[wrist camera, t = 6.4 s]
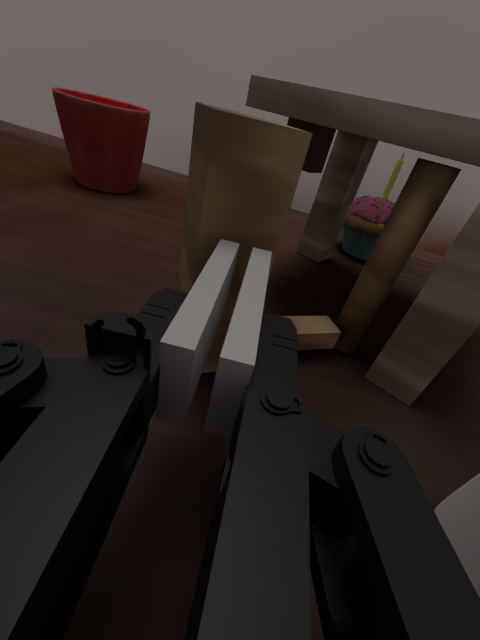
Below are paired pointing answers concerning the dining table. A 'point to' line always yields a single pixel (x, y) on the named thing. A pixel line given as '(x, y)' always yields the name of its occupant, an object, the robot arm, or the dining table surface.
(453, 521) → the can
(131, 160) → the flower pot
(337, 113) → the stool
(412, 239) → the gate leg
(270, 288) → the dining table surface
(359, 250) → the cupcake
